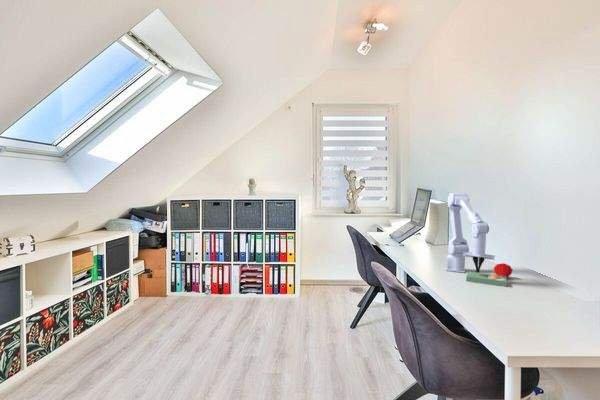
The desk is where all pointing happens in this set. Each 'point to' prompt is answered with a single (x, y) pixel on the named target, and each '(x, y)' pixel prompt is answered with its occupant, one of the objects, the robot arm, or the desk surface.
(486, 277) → the green flat board
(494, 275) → the ball
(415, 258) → the desk surface
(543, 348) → the desk surface
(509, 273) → the gemstone
